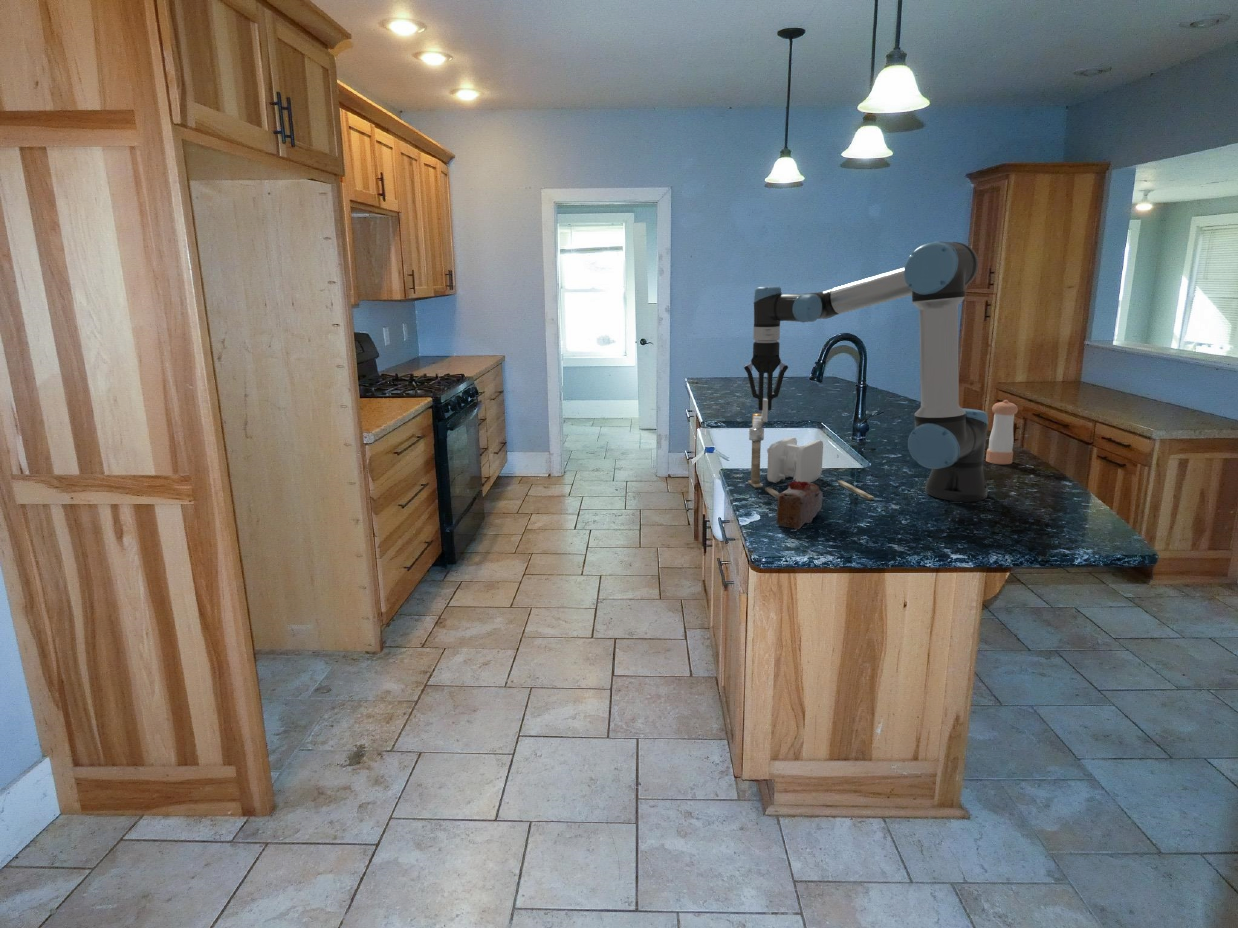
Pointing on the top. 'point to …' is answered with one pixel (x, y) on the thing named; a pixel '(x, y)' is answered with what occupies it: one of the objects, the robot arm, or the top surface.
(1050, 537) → the top surface
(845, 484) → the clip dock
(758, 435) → the gold knob lever
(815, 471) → the cable organizer
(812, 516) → the food item
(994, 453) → the pepper shaker
